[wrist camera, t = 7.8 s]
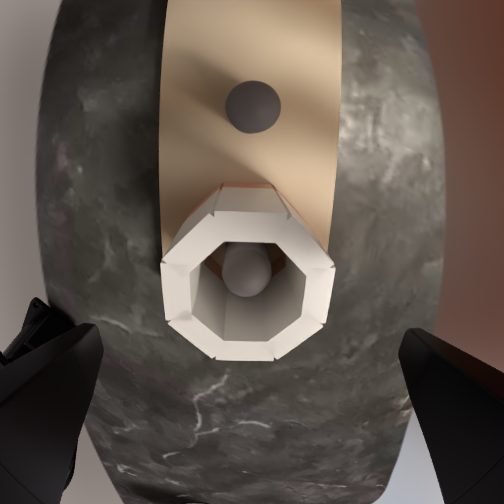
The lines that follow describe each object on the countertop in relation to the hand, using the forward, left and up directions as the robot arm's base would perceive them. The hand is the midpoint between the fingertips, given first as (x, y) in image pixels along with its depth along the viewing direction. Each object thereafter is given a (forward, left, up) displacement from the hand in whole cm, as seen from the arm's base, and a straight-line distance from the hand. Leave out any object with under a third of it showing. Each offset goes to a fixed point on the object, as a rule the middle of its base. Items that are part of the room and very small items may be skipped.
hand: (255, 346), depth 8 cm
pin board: (+5, +4, -10) cm, 12 cm away
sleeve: (0, 0, -9) cm, 9 cm away
